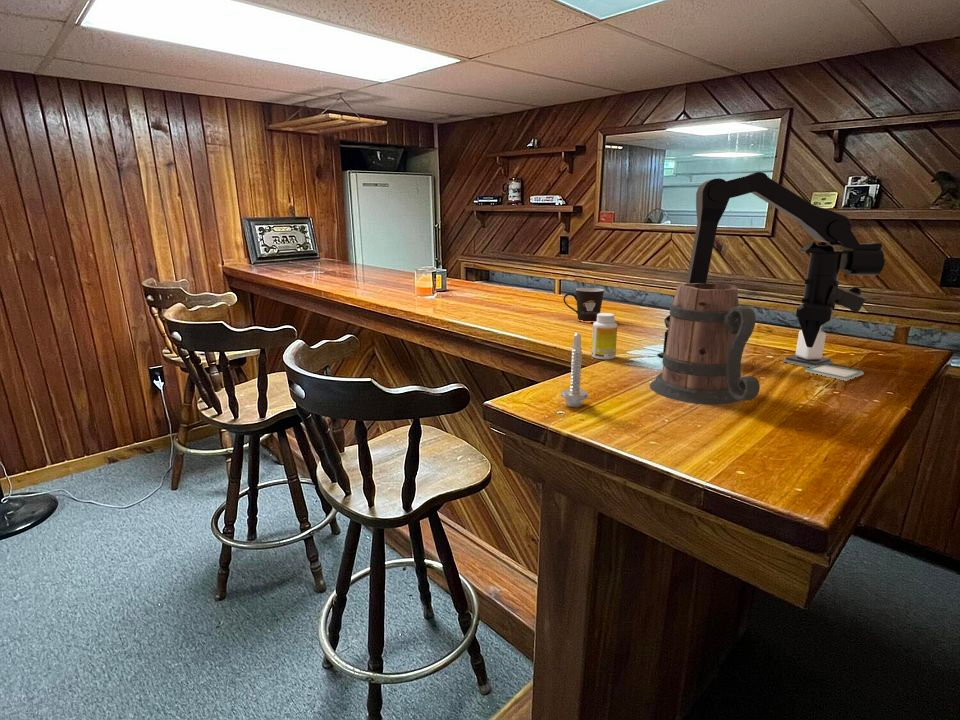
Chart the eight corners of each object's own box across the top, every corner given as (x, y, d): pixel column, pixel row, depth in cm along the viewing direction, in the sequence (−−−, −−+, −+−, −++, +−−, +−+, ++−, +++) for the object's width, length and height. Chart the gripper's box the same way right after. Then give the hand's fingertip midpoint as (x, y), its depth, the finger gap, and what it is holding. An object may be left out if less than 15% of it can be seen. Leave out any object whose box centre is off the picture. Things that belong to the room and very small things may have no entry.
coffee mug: (606, 320, 169) (607, 289, 167) (596, 324, 162) (598, 292, 160) (571, 316, 175) (573, 286, 173) (561, 321, 168) (562, 289, 166)
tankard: (633, 379, 108) (641, 281, 103) (707, 374, 112) (718, 278, 106) (704, 421, 86) (718, 298, 81) (793, 413, 89) (813, 295, 84)
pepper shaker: (823, 359, 118) (830, 317, 116) (807, 360, 118) (814, 318, 115) (809, 355, 122) (816, 314, 120) (793, 356, 121) (800, 314, 119)
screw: (580, 399, 96) (593, 408, 92) (555, 401, 95) (567, 411, 91) (583, 328, 93) (597, 334, 88) (558, 330, 92) (570, 336, 87)
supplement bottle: (620, 359, 124) (623, 315, 121) (599, 361, 122) (602, 317, 119) (606, 353, 129) (609, 311, 126) (586, 355, 127) (588, 313, 124)
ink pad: (815, 369, 115) (816, 364, 115) (782, 362, 121) (783, 357, 120) (832, 363, 120) (833, 358, 119) (800, 357, 125) (800, 352, 125)
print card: (846, 381, 107) (846, 377, 107) (804, 371, 113) (804, 368, 113) (863, 374, 111) (863, 371, 111) (821, 366, 118) (822, 363, 118)
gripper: (867, 281, 103) (853, 359, 107) (868, 273, 118) (855, 341, 122) (801, 277, 109) (790, 351, 113) (809, 270, 124) (799, 335, 128)
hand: (810, 344), depth 119 cm, fingers closed on pepper shaker, 5 cm apart
